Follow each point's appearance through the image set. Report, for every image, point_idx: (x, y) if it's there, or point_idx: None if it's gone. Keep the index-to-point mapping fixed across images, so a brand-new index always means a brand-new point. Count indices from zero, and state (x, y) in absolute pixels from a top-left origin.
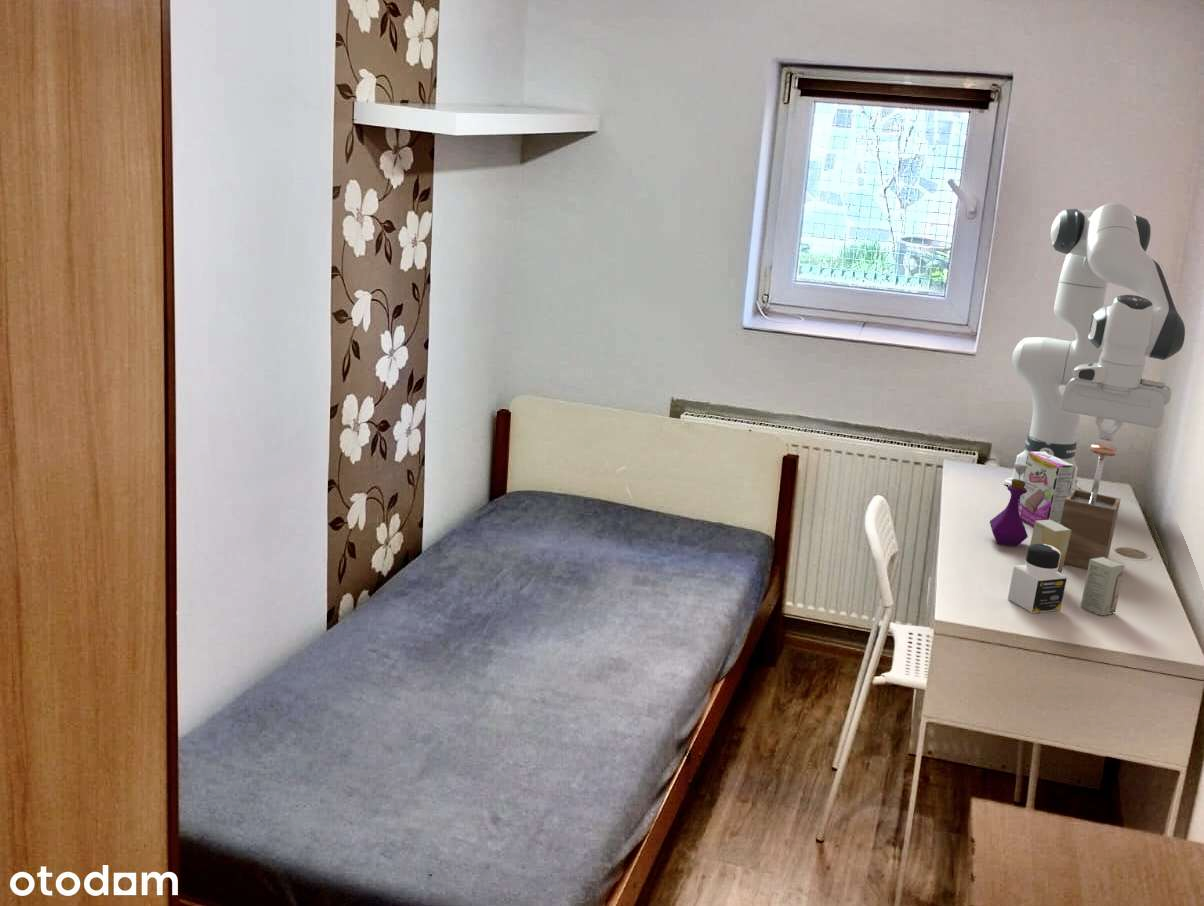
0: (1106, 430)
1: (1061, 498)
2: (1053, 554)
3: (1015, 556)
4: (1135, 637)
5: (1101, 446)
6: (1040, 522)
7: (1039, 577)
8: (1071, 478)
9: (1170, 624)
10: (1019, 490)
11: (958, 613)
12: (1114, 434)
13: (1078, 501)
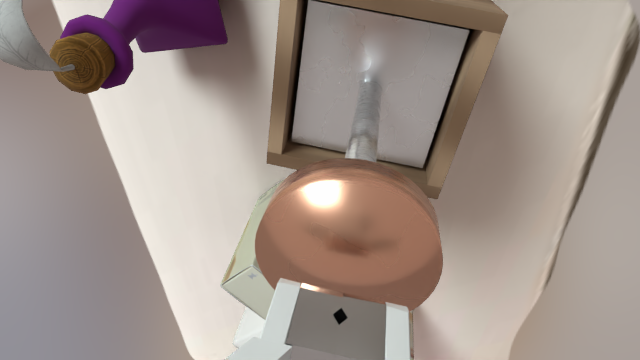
0: (320, 353)
1: None
2: None
3: (227, 91)
4: (427, 351)
5: (326, 261)
6: (232, 291)
7: None
8: None
9: (502, 301)
10: (110, 84)
11: (204, 348)
12: (408, 354)
13: (311, 161)
